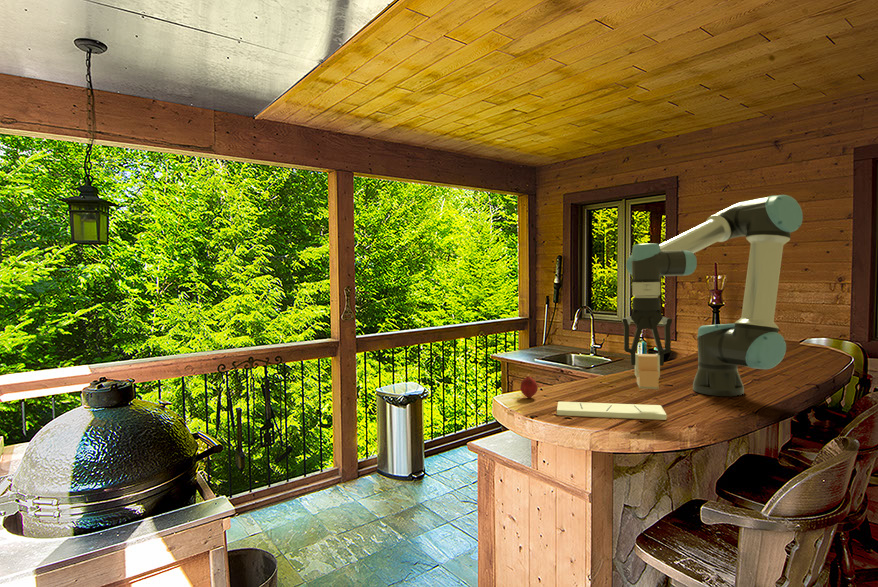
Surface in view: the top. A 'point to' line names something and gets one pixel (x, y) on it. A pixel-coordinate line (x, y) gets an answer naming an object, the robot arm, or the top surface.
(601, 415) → the board
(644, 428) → the top surface
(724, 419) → the top surface
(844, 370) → the top surface
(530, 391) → the onion
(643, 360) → the block
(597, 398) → the top surface
